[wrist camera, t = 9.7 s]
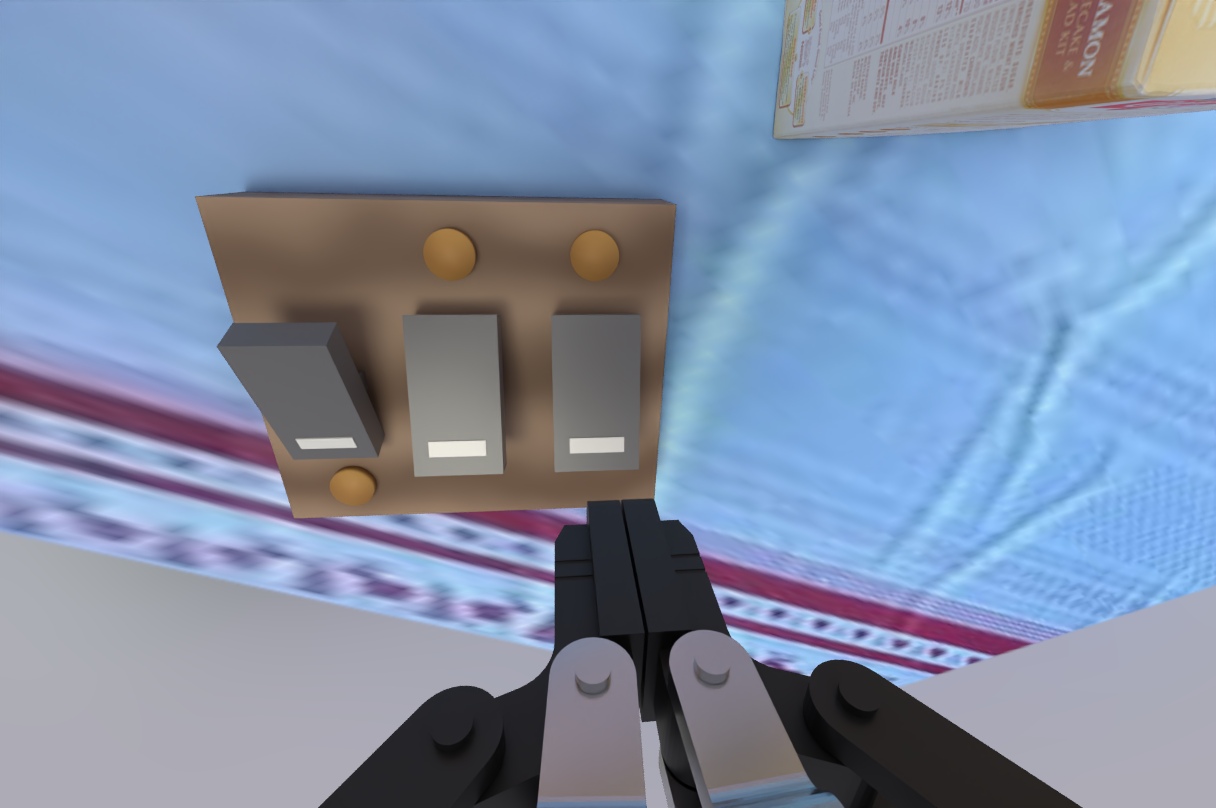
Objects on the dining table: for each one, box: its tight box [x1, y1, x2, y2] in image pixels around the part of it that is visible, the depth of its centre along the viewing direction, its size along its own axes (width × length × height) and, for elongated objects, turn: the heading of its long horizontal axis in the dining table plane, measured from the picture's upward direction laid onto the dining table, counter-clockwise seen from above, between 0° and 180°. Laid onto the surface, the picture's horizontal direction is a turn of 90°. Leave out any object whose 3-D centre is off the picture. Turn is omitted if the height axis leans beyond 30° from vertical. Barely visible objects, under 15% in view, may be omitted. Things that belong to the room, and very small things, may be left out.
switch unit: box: [195, 192, 676, 518], centre depth 29 cm, size 18×22×5 cm
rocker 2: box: [402, 314, 507, 477], centre depth 25 cm, size 8×4×2 cm, turn 179°
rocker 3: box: [551, 314, 641, 472], centre depth 26 cm, size 8×4×2 cm, turn 179°
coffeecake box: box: [773, 0, 1216, 139], centre depth 18 cm, size 15×7×20 cm, turn 92°
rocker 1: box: [217, 322, 385, 460], centre depth 25 cm, size 8×4×2 cm, turn 179°
